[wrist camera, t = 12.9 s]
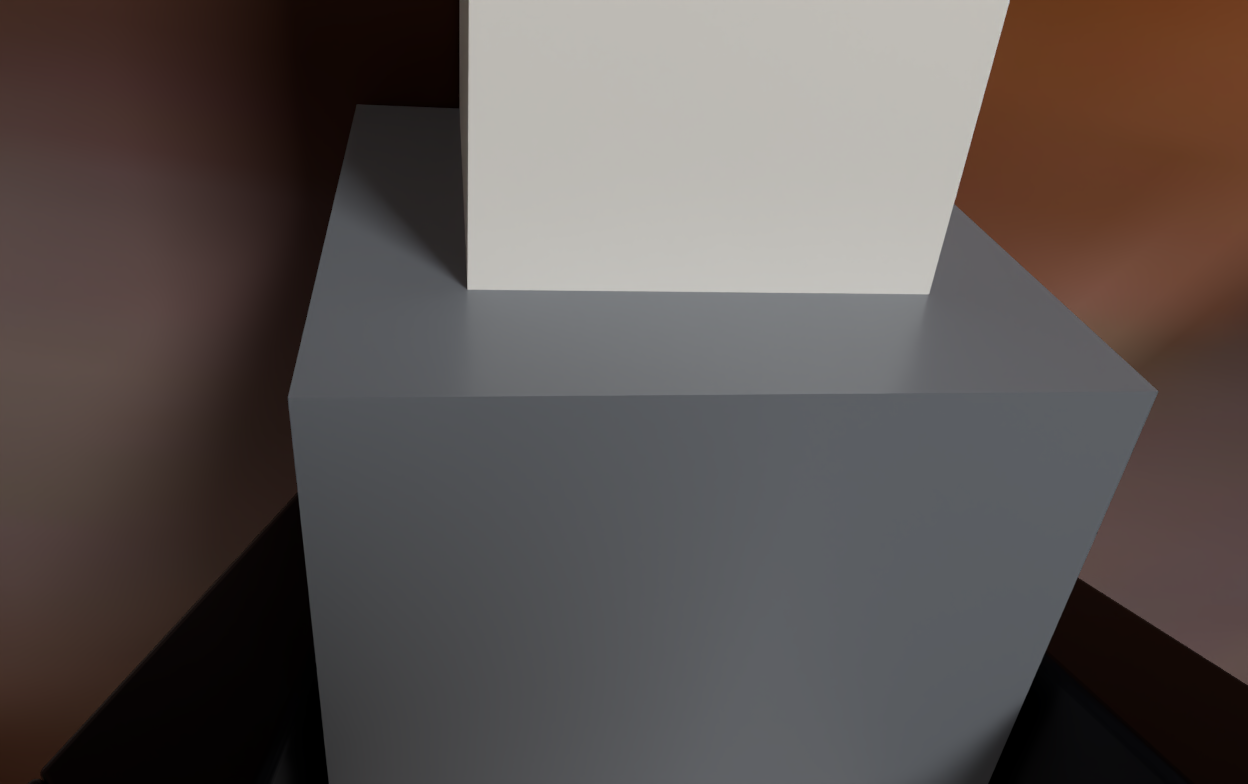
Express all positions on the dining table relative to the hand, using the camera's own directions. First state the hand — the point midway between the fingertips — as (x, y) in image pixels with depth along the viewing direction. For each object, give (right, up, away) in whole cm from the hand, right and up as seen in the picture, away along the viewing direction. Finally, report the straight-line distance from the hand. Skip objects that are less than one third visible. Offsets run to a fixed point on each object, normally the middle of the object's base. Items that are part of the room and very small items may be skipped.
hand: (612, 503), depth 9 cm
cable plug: (0, +6, -3) cm, 7 cm away
